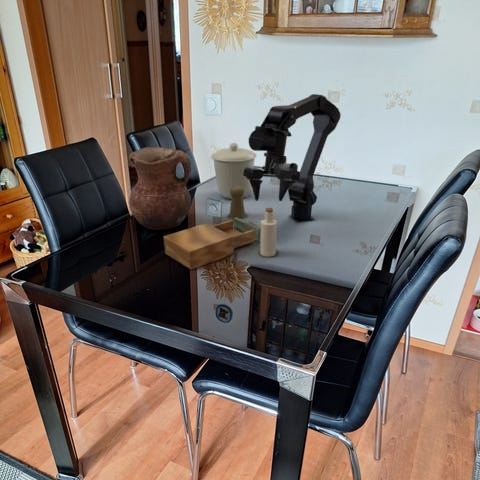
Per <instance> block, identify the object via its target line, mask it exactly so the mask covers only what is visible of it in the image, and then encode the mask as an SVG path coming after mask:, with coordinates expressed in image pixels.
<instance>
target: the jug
mask: <svg viewBox="0 0 480 480" xmlns="http://www.w3.org/2000/svg"><path fill="white" fill-rule="evenodd" d="M128 160H129V162H130V163H131V164H132V165H133V166H134V169H135V171H136V173H137V182H136V184H135V185H134V186H133V188H132V190H131V191H130V194H129V200H128V205H129V209H130V212H131V214H132V216H133V217H134V218H135V220H136V221H137V222H138V223H139V224H140V225H141V226H142V227H144V228H146V229H147V230H152V231H164V230H170V229H175V228H177V227H179V226H181V224H182V223H183V222H184V220H185V219H186V217H187V216H188V214H189V211H190V209H191V204H192V196H191V194H190V191H189V190H188V187H187V183H188V182H189V180H190V177H191V174H192V167H191V166H192V163H191V159H190V158H189V157H188V155H187V154H186V153H185V152H184V151H183V150H181V149H178V150H177V149H175V148H166V147H161V146H146V147H142V148H140V149H137V150H135V151H133V152H131V153H130V154H129V155H128ZM179 163H180V164H182V165H183V168H184V171H183V172H184V174H183V177H178V176H177V166H178V164H179Z"/></svg>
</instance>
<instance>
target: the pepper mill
mask: <svg viewBox="0 0 480 480" xmlns="http://www.w3.org/2000/svg"><path fill="white" fill-rule="evenodd" d="M230 195H231V196H232V197H231V199H230V208H229V218H231V219H233V218H235V217H237V218H239V219H241V220H242V219H244V218H245V217H246V211H245V204H244V198H243V195H244V189H243V187H241V186H234V187H232V188H231V189H230Z"/></svg>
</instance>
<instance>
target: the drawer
mask: <svg viewBox="0 0 480 480" xmlns="http://www.w3.org/2000/svg"><path fill="white" fill-rule="evenodd" d="M212 226H213V227H215V228H217V229H219V230H221V231H223V232H225V233H227V234H229V235H231V236H233V237H234V238H233V239H234V249H237V248H239V247H242V246H245V245H248V244H251V243H253V242H255V241H258V242H260V233H261V223H259V222H256V221H253V220H251V219H250V220H248V221H245V220H243V219H242V218H241V219H239V218H237V217H235V218H232V219H230V220H227V221H224V222H220V223H218V224H214V225H212Z"/></svg>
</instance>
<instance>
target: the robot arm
mask: <svg viewBox="0 0 480 480" xmlns="http://www.w3.org/2000/svg"><path fill="white" fill-rule="evenodd" d="M309 114H311V115H312V117H313V120H312V125H313V133H312V137H311V139H310V142H309V145H308V148H307V150H306V153H305V156H304V159H303V162H302V164H301V167H300V170H298V168H299V165H298V164H297V163H296V162H290V163H288V162H287V156H286V155H285V153H286V147H287V146H286V145H287V140H288V138H289V137H292V133H291V132H290V130H289V129H290V128H291V127H293V126H294V125H295V124H296V123H297V120H298V119H300V118H302V117H304V116H306V115H309ZM341 116H342V115H341V112H340V109H339V108H338V107H337V106H336V105H335V104H334V103H332V102H331V101H330V100H329V99H328V98H327V97H326V96H325V95H324V94H319V93H312V94H310V95H309V96H307V97H305V98H303V99H300V100H298V101H295V102H294V103H290V104H287V105H285V104H284V105H275V106H272V107H270V109H269V111H268V112H267V115H266V116H265V117H264V119H263V121H262V123H261V124H260V126H259V125H255V127H254V130H253V131H252V132H251V133H250V135H249V136H248V146H249V148H250V150H251V151H253V152H264V153H263V157H265V160H264V165H262V167H261V168H258V167H256V166H254V167H246V168H245V169H244V173H243V176H245V177H247V179H249V181H250V184H251V186H252V187H251V190H252V193H253V196H254V200H255V201H256V202H258V201H259V198H260V191H261V185H262V183H263V182H264V181H263V180H262V178H264V177H265V178H277V179H279V189H278V201H279V202H282V201H283V199H284V197H285V196H286V193H287V192H288V198H289V201H290V202H292V205H291V213H290V217H291V218H292V219H293V220H295V222H305V221H312V220H314V218H313V217H312V211H313V206H315V204H316V202H317V199H318V196H317V195H316V193H315V192H314V188H315V182H314V175H315V172H316V169H317V166H318V164H319V161H320V158H321V156H322V154H323V151H324V147H325V145H326V142H327V139H328V137H329V135H330V134H331V133H333V132H334V131H335V130H336V128H337V126H338V124H339V122H340V120H341Z"/></svg>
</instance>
